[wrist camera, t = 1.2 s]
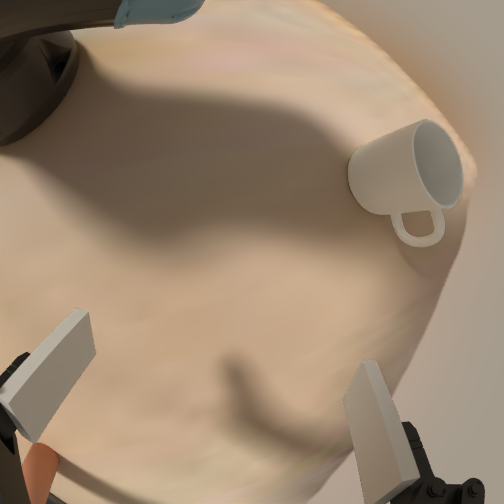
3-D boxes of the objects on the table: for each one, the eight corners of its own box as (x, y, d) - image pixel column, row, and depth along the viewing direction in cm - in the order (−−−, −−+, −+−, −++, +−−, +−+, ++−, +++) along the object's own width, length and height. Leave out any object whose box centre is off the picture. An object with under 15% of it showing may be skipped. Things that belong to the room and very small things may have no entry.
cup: (387, 143, 31) (449, 120, 21) (410, 237, 32) (475, 237, 22) (336, 148, 29) (400, 117, 19) (362, 255, 30) (433, 261, 20)
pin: (22, 446, 19) (-15, 523, 5) (38, 434, 20) (-2, 519, 6) (52, 472, 20) (28, 552, 6) (70, 461, 21) (46, 551, 7)
